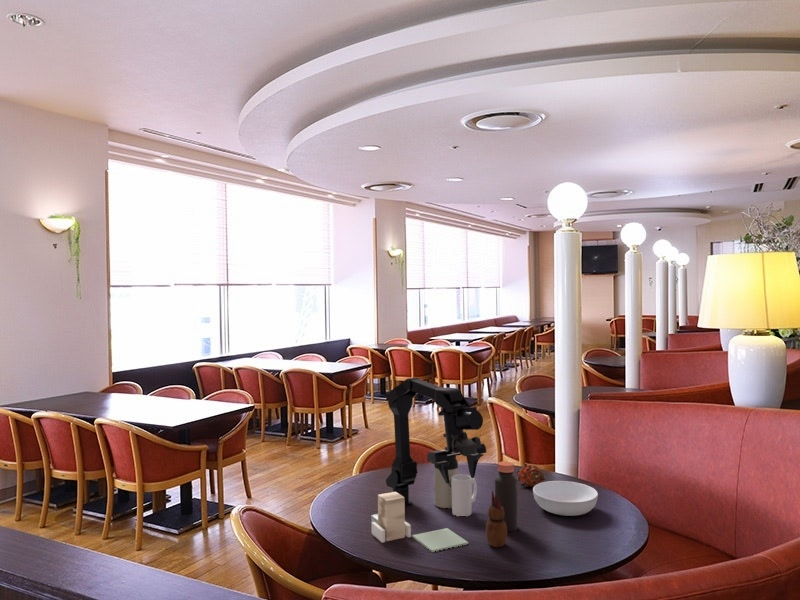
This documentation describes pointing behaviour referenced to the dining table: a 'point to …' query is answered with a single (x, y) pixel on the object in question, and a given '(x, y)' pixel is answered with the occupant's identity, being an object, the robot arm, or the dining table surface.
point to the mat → (439, 539)
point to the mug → (462, 494)
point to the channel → (380, 532)
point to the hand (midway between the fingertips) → (460, 480)
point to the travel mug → (445, 484)
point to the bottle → (507, 493)
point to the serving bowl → (565, 497)
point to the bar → (374, 518)
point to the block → (392, 515)
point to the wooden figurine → (496, 524)
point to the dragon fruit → (530, 476)
